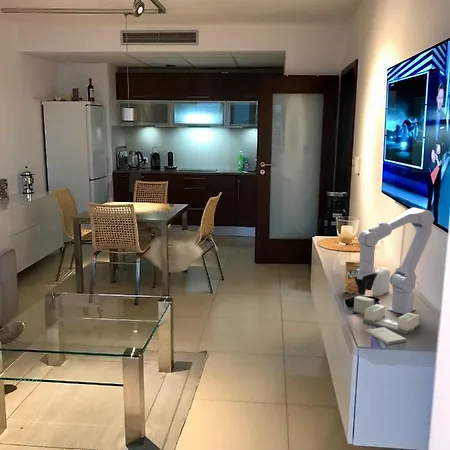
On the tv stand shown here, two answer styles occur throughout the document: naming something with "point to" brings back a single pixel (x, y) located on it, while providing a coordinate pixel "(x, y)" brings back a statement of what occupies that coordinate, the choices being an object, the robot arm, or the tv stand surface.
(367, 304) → the block
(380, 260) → the tv stand surface
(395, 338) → the external hard drive
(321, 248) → the tv stand surface
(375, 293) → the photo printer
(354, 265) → the candy box
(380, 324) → the rail panel
